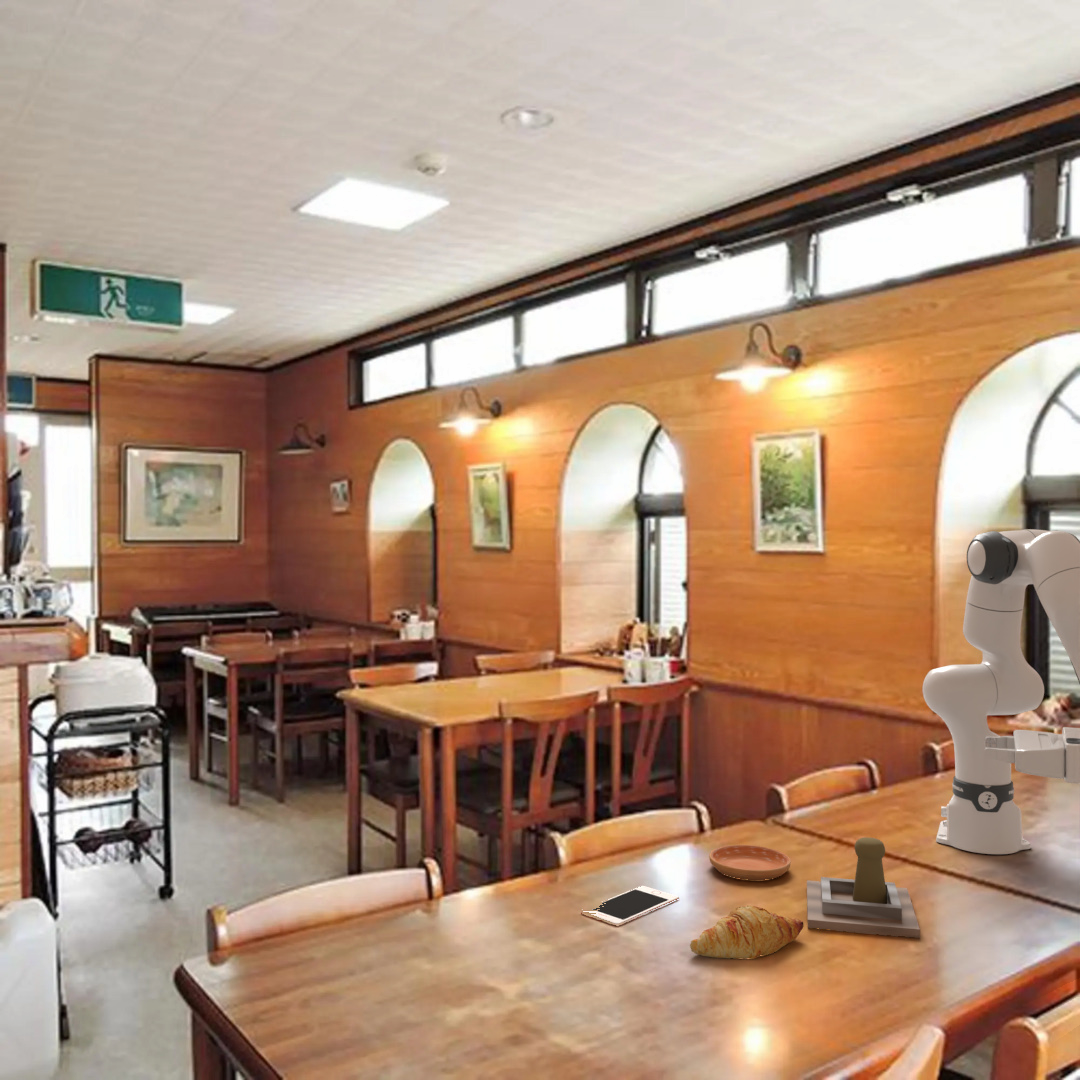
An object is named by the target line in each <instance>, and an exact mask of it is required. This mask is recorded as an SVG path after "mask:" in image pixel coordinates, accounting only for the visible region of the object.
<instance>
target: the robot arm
mask: <svg viewBox="0 0 1080 1080" xmlns="http://www.w3.org/2000/svg"><path fill="white" fill-rule="evenodd" d="M966 565H967V569H968V571H969V573H970V574H971V576H970V579H969V580H970V581H969V584H968V588H967V594H966V601H965V609H964V617H963V623H962V624H963V626H962V633H963V637H964V638H965V640H966V641H967V642H968V643H969V644H970V646H972V647H974V648H975V649H977V650H978V651H980V652H981V654H982V661H981V662H980V663H975V664H974V663H973V664H968V663H967V664H964V663H963V664H949V665H946V666H945V665H944V666H940V667H937V668H933V669H930V670H929V671H928V672H927V674H925V677H924V680H923V682H922V696H923V700H924V702H925V703H926V705H927V707H928V708H929V709H930V710H931V711H932V712H934V713H935V714H936V715H937V716H939V717H940V719H942V721H943V722H944V723H945V726H946V727H947V728H948V730H949V732H950V734H951V738H952V742H953V748H954V749H953V751H954V765H955V766H954V769H955V772H954V773H955V775H954V776H953V778H952V785H951V786H952V793H953V795H952V796H951V799H950V800H949V801H948V803H947V804H946V806H943V805H942V806H940V807H941V808H940V815H941V817H942V818H946V819H945V820H941V821H940V823H939V826H938V831H937V834H936V838H935V839H936V840H935V842H936V843H940V844H943V845H948V846H951V847H953V848H955V849H958V850H963V851H965V852H966V851H967V852H971V853H977V854H984V855H985V854H987V855H1008V854H1015V853H1017V852H1020V851H1023V850H1029V849H1031V848H1032V846H1031V844H1032V843H1030V841H1029V840H1026V838H1024V837H1023V823H1022V821H1023V820H1022V808H1020V807H1019V806H1018V805H1017V804H1015V802H1014V801H1013V799H1014V794H1015V788H1014V782H1013V781H1012V764H1014V768H1015V771H1017V772H1019V773H1022V774H1027V775H1031V776H1037V777H1045V778H1050V779H1051V778H1052V779H1059V780H1061V779H1063V780H1064V781H1065V782H1066V783H1068V784H1077V785H1078V784H1080V727H1067V726H1063V727H1062V730H1061V733H1054V732H1050V731H1049V732H1048V731H1040V730H1039V731H1038V730H1030V729H1029V730H1028V729H1015V730H1013V736H1012V735H1001V736H1000V735H999V734H997V733H996V732H994V731H991V729H990V728H989V725H988V716H1009V715H1010V716H1012V715H1014V716H1015V715H1018V714H1024V713H1027V712H1030V711H1034V710H1036V709H1037V708H1039V707H1040V705H1041V703H1042V701H1043V699H1044V696H1045V695H1044V694H1045V686H1044V682H1043V679H1042V677H1041V675H1040V674H1039V673H1038V672H1037V671H1036V670H1035V669H1034V667H1032V666H1031V665H1030V664H1029V663H1028V661H1027V660H1026V658H1025V656H1024V654H1023V650H1022V648H1021V647H1022V646H1021V630H1022V623H1023V621H1022V620H1023V614H1024V613H1023V612H1024V606H1025V596H1026V588H1027V587H1028V585H1033V587H1034V590H1035V591H1036V594H1037V596H1038V599H1039V601H1040V603H1041V606H1042V607H1043V609H1044V611H1045V613H1046V615H1047V618H1048V619H1049V621H1050V623H1051V625H1052V627H1053V628H1054V630H1055V632H1056V634H1057V636H1058V638H1059V640H1060V642H1061V644H1062V646H1063V648H1064V650H1065V652H1066V654H1067V656H1068V657H1069V660H1070V663H1071V665H1072V668H1073V670H1074V673H1075V677H1076V678H1077V681H1078V683H1079V685H1080V539H1079V538H1078V537H1077V536H1076V535H1074V534H1072V533H1070V532H1066V531H1062V530H1057V529H1055V530H1054V529H1053V530H1045V529H1033V528H1032V529H1031V528H1030V529H1028V528H1023V529H1020V530H1007V531H1006V530H1004V531H995V530H991V531H987V532H982V533H978V534H977V535H975V536H974V537H973V538H972V540H971V541H970V543H969V544H968V547H967V550H966Z"/></svg>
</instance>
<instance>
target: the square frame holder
mask: <svg viewBox="0 0 1080 1080" xmlns="http://www.w3.org/2000/svg"><path fill="white" fill-rule="evenodd" d="M854 883H855V879H853V878H852V879H850V878H839V877H824V876H820V881H818V880H806V905H807V910H806V911H807V929H809V928H819V929H818V930H820V929H830V930H829V931H831V930H836V931H835V932H843V931H846V932H845V933H854V932H855V934H868V935H876V934H879V936H887V935H891V936H890V937H898V936H906V937H905V938H909V937H915V938H914V939H920V937H921V936H920V934H921V932H920V931H921V929H920V926H919V923H918V919H917V916H916V912H915V910H914V906H913V903H912V899H911V896H910V893H909V889H908V888H907V887H897V886H896V883H895V882H891V881H890V882H889V881H885V886H886V893H887V900H888V903H887V904H879V903H866V902H855V901H854V900H853V890H854Z"/></svg>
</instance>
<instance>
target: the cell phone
mask: <svg viewBox="0 0 1080 1080" xmlns="http://www.w3.org/2000/svg"><path fill="white" fill-rule="evenodd" d="M640 886H641V887H640ZM640 886H637V887H638V888H637V887H636V888H632V889H633V890H632V889H630V890H631V891H630V890H627V891H625V892H623V893H621V894H618V895H617V894H616V895H615V896H613V897H611V898H608V901H605V900H604V901H605V902H603V901H602V902H603V903H602V904H603V905H600V906H599V907H600V908H596V909H592V910H597V909H600V910H598V911H583V912H589V913H596V914H591V915H594V916H597V917H599V918H601V919H604V920H607V921H610V922H612V923H615V924H619V923H622V922H625V921H627V920H629V919H632V918H634V917H636V916H639V915H641V914H643V913H646V912H648V911H651V910H653V909H656V908H658V907H660V906H662V905H665V904H667V903H670V902H672V901H674V900H677V899H679V900H680V897H679V896H678V895H676V894H672V893H670V892H669V893H668V892H665V891H663V890H660V889H655V888H653V887H649V886H646V885H640ZM604 903H606V904H604ZM602 906H604V907H602Z"/></svg>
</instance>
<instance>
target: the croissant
mask: <svg viewBox="0 0 1080 1080" xmlns="http://www.w3.org/2000/svg"><path fill="white" fill-rule="evenodd" d="M804 925H805V924H804V921H802V920H800V919H799V918H796V917H795V918H792V917H789V916H783V915H778V914H777V913H773V912H769V911H768V910H767V909H765V908H762V907H760V906H759V907H758V906H755V905H746V906H744V905H743V906H739V907H736V908H734V909H733V910H732V911H730V912H729V914H728V915H727V916H723V917H721V918H720V919H719V920H717V922H716V924H715V925H714V926H713V927H710V928H708V929H705V930H703V931H702V932H701V934H700V935H699V937H698V938H694V939H692V940H691V941H690V944H689V947H690V950H691V952H692V953H694V954H696V955H699V956H702V957H708V958H717V959H718V958H719V959H730V958H733V960H736V958H751V959H750V960H754V959H756V958H758V956H760V955H767V956H768V954H769V955H772V954H774V952H775V953H776V952H778V951H779V950H780V949H782V948H783V947H785V946H786V945H788V944H791V943H792V942H793V941H794V940H796V939H797V938H798V937H799V936H800V933H801V931H802V930H803V928H804ZM771 953H772V954H771Z"/></svg>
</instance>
